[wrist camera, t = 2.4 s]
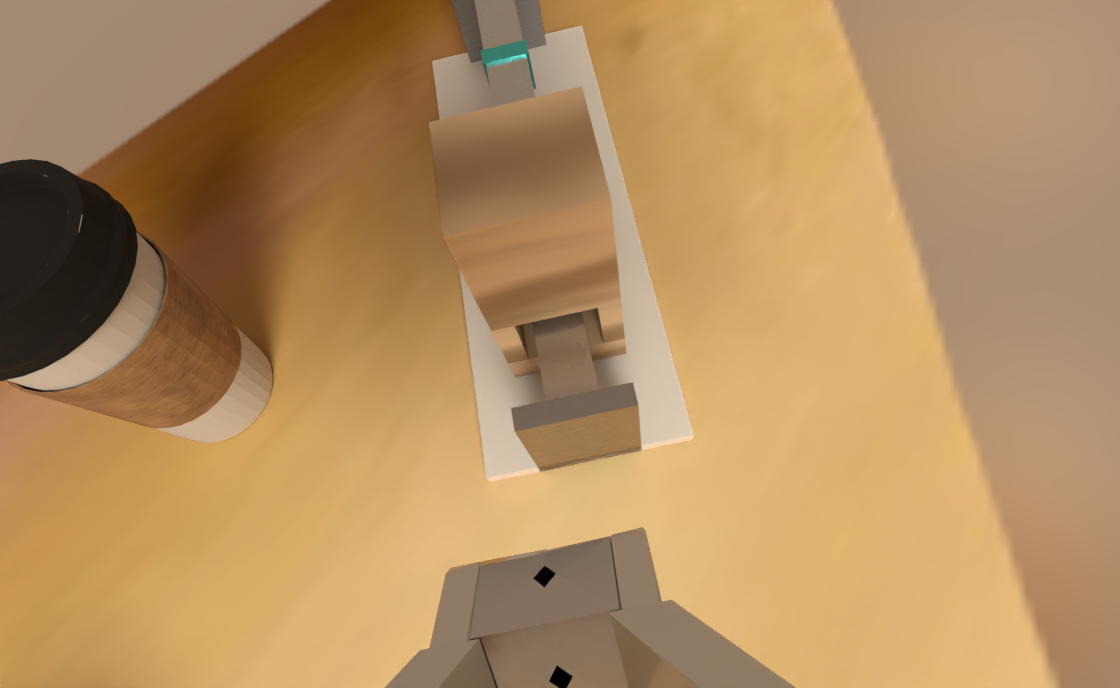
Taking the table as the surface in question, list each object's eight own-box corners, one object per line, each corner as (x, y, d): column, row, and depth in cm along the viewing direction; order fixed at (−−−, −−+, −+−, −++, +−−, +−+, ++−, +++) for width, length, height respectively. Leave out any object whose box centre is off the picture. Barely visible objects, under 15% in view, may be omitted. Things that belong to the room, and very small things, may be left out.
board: (692, 439, 32) (693, 434, 32) (490, 481, 33) (486, 477, 32) (582, 35, 44) (581, 25, 44) (435, 70, 45) (431, 60, 44)
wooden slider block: (626, 353, 33) (610, 198, 22) (515, 377, 33) (442, 236, 22) (605, 268, 35) (581, 86, 24) (501, 291, 35) (428, 121, 24)
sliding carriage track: (641, 450, 32) (638, 405, 26) (540, 471, 33) (514, 431, 27) (545, 44, 44) (528, -50, 38) (472, 61, 45) (443, -29, 39)
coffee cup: (119, 441, 36) (-201, 318, 23) (198, 306, 39) (-42, 126, 26) (248, 487, 34) (-19, 381, 21) (322, 341, 37) (131, 165, 24)
